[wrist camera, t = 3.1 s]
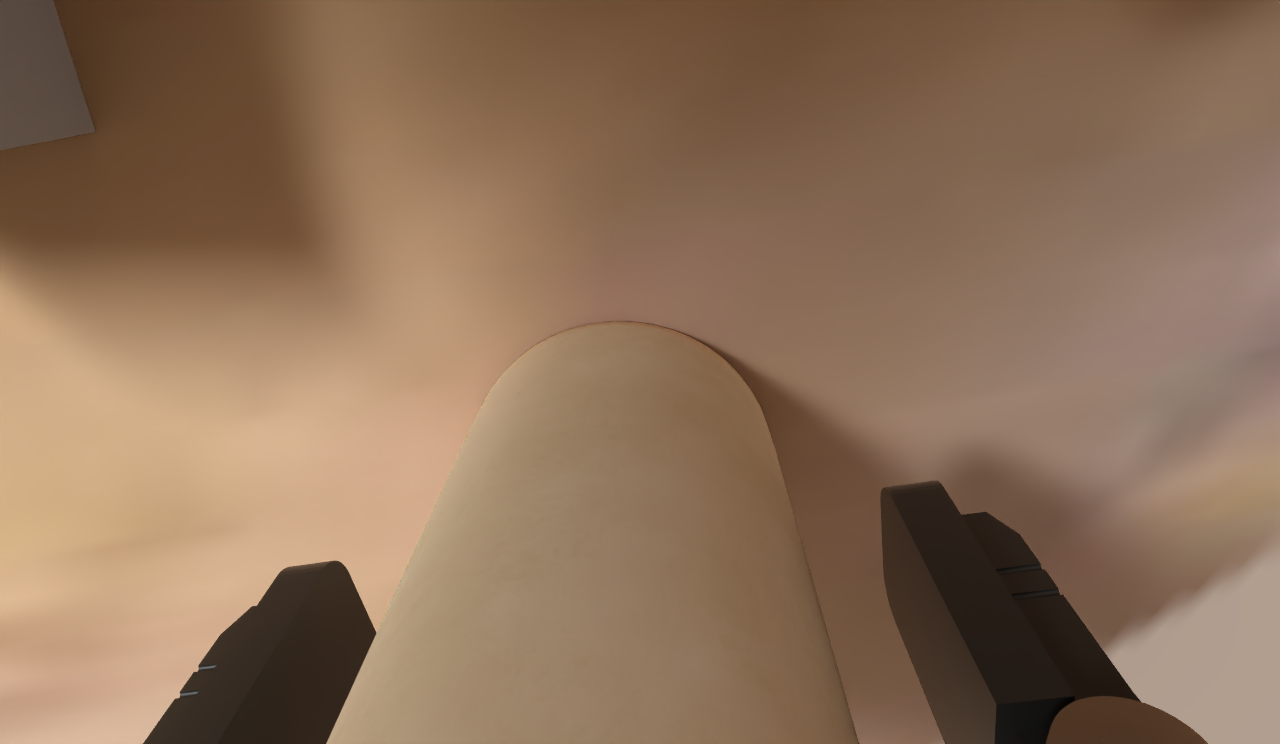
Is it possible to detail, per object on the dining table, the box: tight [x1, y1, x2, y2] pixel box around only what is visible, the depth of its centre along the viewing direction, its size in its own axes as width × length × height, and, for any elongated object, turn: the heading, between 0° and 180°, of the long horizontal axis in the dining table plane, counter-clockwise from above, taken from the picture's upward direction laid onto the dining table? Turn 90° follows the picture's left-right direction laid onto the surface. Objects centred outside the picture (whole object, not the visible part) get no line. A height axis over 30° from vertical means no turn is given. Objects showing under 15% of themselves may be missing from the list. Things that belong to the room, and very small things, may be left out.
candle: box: [326, 322, 859, 744], centre depth 9 cm, size 6×6×10 cm
